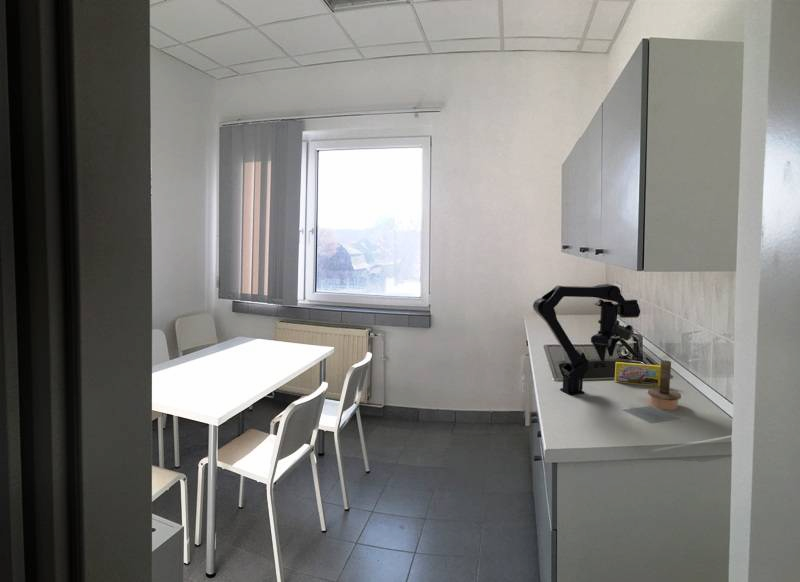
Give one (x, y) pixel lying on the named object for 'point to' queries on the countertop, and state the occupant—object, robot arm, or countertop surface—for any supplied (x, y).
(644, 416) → the grey rubber mat
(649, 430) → the countertop surface
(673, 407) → the terracotta bowl
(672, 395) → the walnut cover
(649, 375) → the candy box
